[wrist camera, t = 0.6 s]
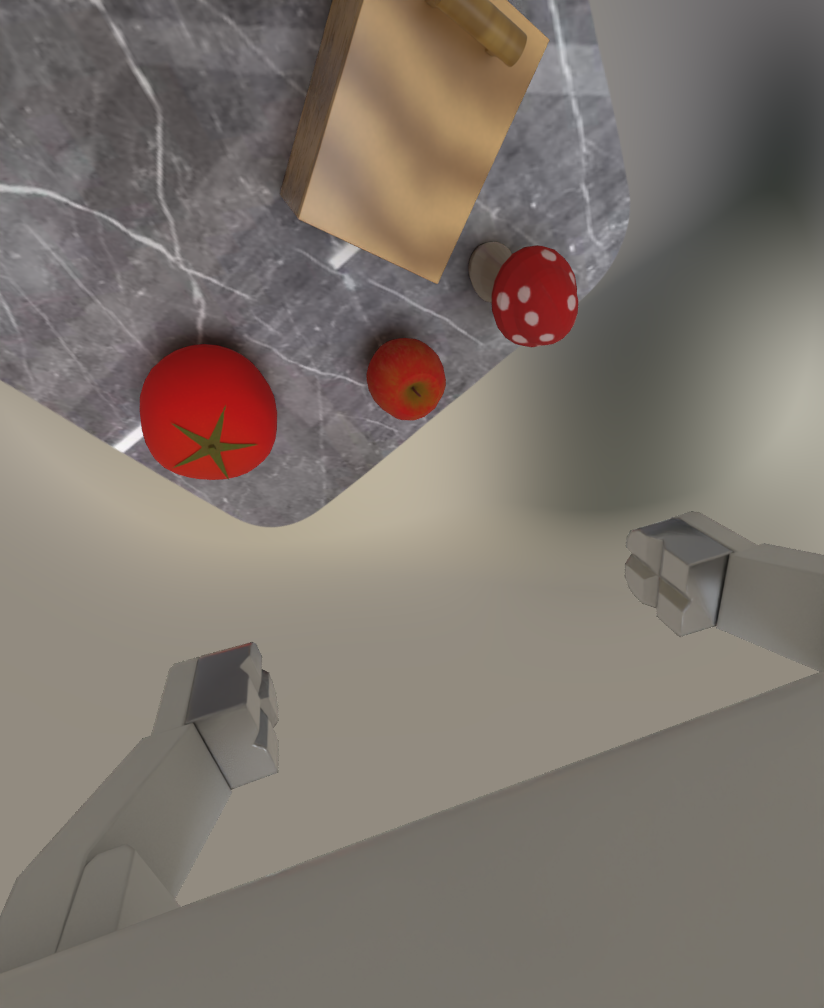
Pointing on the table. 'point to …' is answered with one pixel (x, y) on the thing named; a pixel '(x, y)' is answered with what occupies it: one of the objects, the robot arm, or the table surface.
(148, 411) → the tomato
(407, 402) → the apple
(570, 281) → the decorative mushroom
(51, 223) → the table surface
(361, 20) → the lid
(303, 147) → the box
